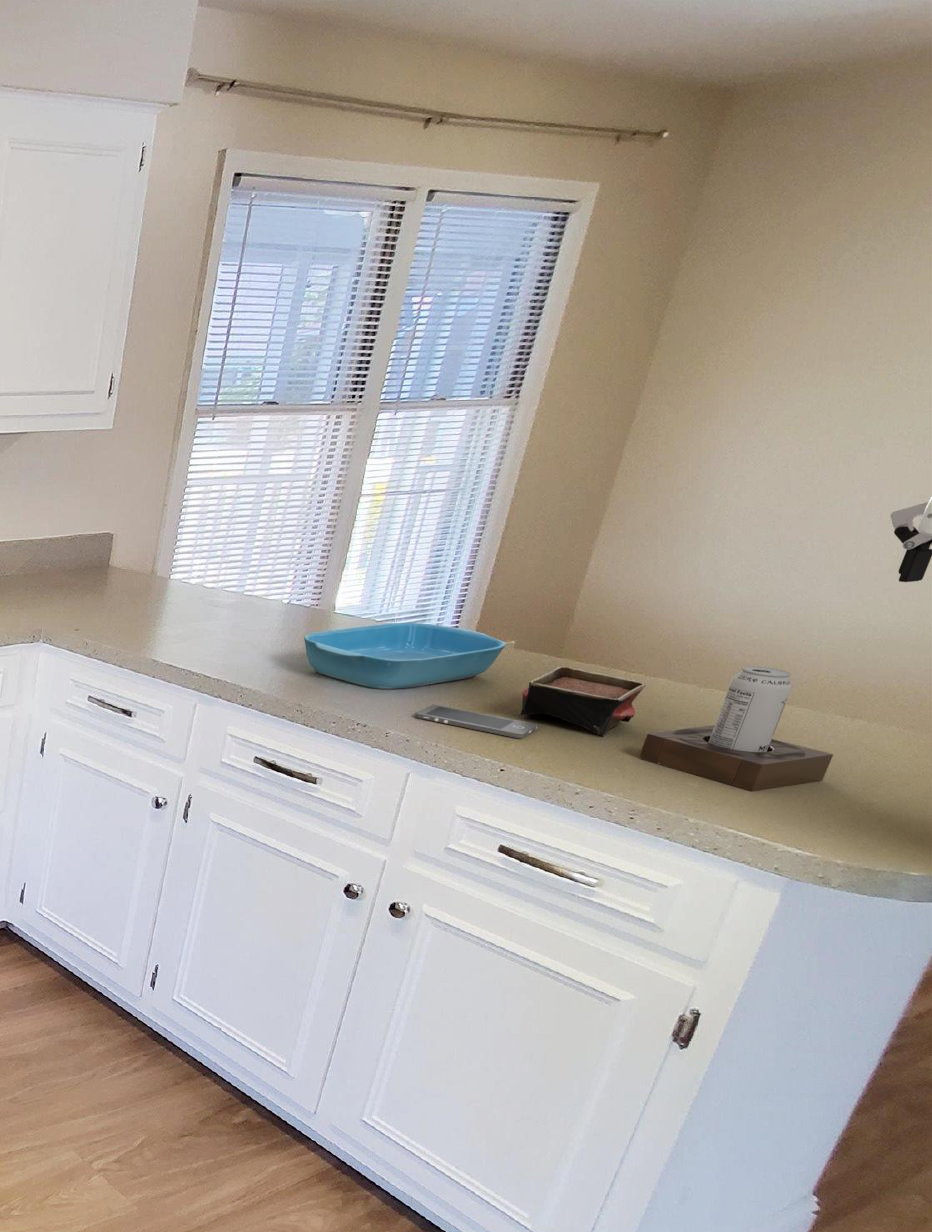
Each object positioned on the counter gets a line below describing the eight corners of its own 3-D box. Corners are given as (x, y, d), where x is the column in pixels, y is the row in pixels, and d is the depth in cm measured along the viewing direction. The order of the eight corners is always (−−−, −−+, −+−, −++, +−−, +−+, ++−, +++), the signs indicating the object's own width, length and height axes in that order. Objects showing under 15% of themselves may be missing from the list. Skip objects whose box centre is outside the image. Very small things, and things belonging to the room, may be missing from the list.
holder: (822, 780, 145) (833, 754, 144) (751, 791, 142) (762, 764, 140) (706, 749, 158) (715, 724, 156) (638, 758, 155) (647, 733, 153)
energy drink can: (764, 779, 146) (804, 678, 140) (707, 772, 149) (744, 673, 143) (749, 766, 151) (787, 668, 145) (694, 759, 154) (730, 663, 148)
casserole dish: (377, 699, 185) (386, 660, 182) (273, 669, 205) (280, 634, 202) (522, 678, 195) (532, 641, 192) (409, 651, 215) (417, 618, 212)
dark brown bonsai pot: (644, 736, 169) (661, 676, 167) (605, 740, 160) (623, 677, 158) (537, 720, 181) (552, 664, 179) (495, 723, 172) (510, 664, 170)
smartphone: (412, 716, 175) (413, 712, 174) (431, 707, 179) (432, 703, 179) (520, 738, 163) (522, 734, 163) (537, 728, 168) (539, 724, 167)
